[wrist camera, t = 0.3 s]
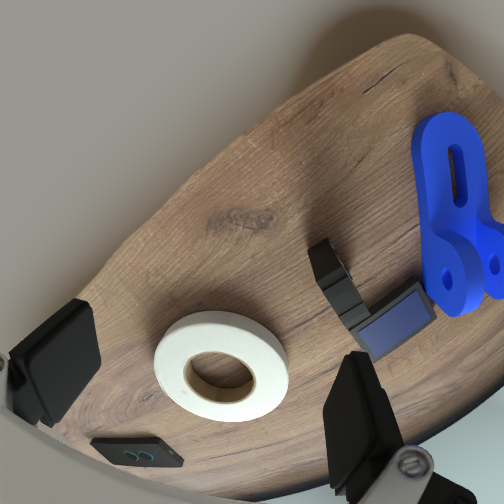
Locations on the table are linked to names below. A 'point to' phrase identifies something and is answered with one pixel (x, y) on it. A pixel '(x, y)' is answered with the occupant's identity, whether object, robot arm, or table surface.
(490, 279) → the bracket
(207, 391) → the tape roll
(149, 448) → the smart home device
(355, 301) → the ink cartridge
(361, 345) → the ink pad
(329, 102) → the table surface
